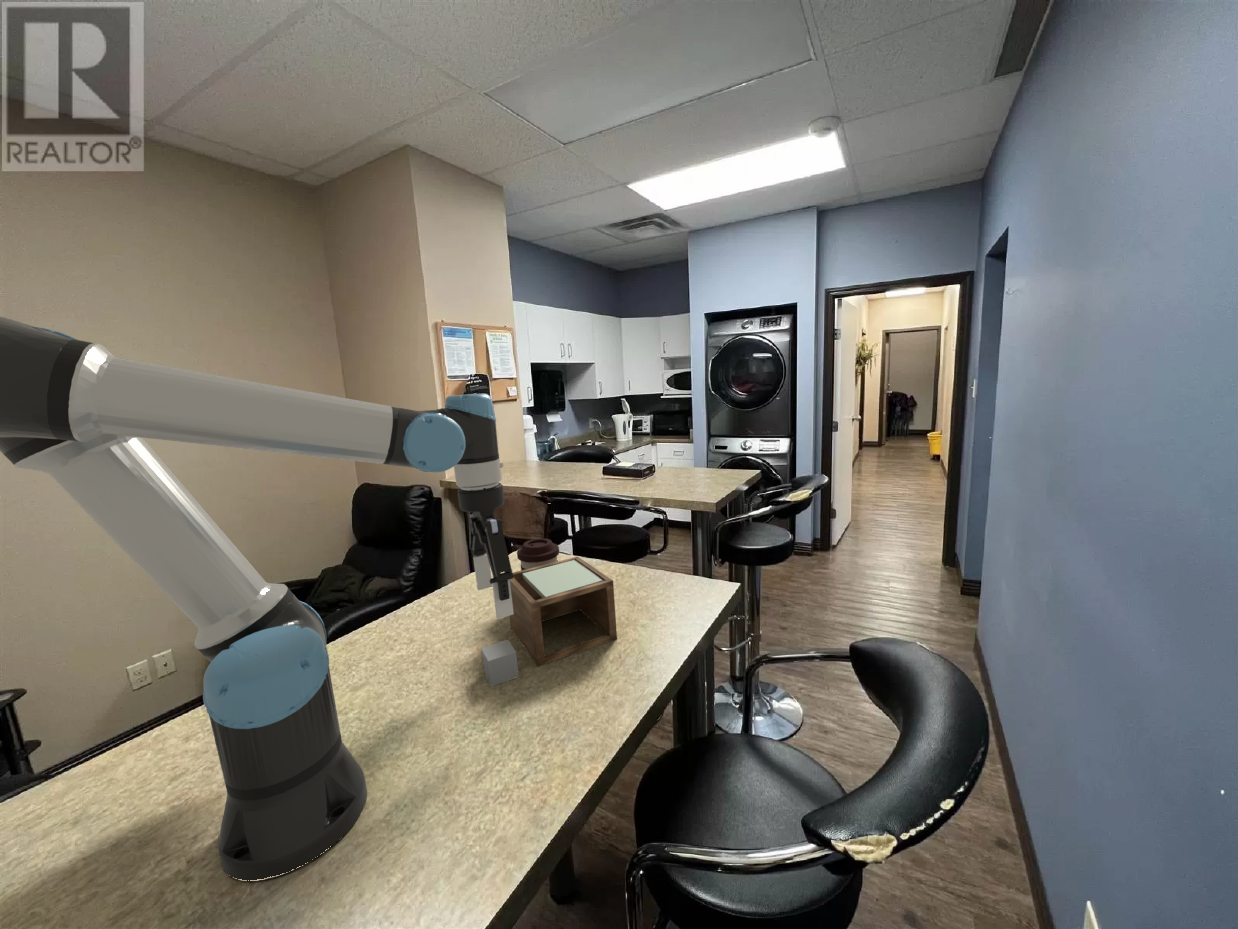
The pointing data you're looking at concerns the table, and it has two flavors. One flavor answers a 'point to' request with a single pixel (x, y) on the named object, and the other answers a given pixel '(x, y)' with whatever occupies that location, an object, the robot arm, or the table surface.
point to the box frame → (560, 612)
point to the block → (500, 662)
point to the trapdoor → (560, 578)
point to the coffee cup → (537, 553)
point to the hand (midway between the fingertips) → (494, 601)
